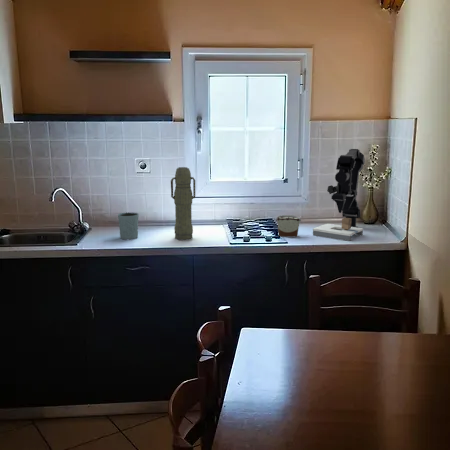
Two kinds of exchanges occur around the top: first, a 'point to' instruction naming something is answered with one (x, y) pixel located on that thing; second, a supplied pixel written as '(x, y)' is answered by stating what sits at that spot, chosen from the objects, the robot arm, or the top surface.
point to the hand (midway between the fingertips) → (343, 211)
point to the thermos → (183, 203)
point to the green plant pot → (128, 225)
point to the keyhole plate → (336, 232)
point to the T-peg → (346, 223)
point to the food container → (288, 225)
